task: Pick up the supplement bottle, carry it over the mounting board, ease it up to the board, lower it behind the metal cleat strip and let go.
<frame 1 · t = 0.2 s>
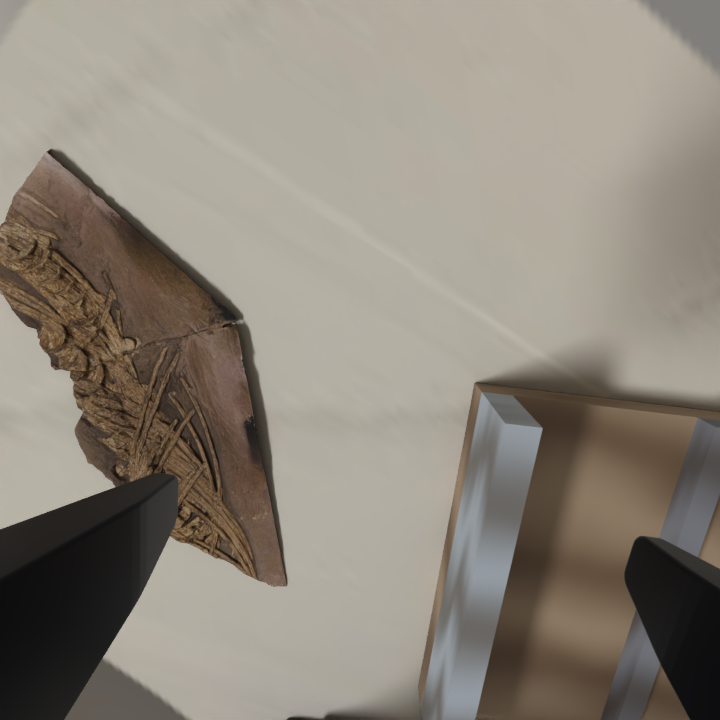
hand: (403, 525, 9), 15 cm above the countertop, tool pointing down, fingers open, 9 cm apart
cleat board: (583, 565, 26), on the countertop
wooden fragment: (170, 397, 24), on the countertop
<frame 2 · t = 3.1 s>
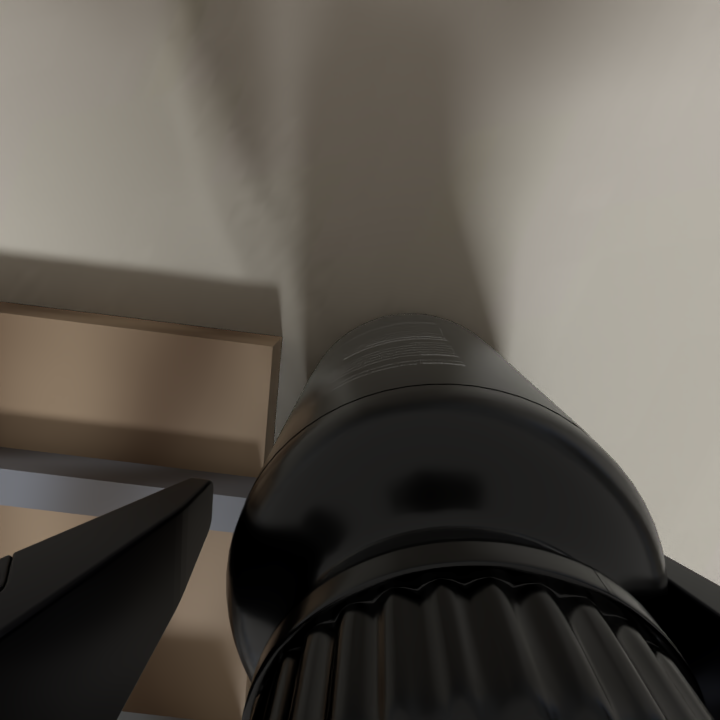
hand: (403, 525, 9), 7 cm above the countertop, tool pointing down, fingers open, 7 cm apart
supplement bottle: (408, 410, 15), on the countertop, touching gripper
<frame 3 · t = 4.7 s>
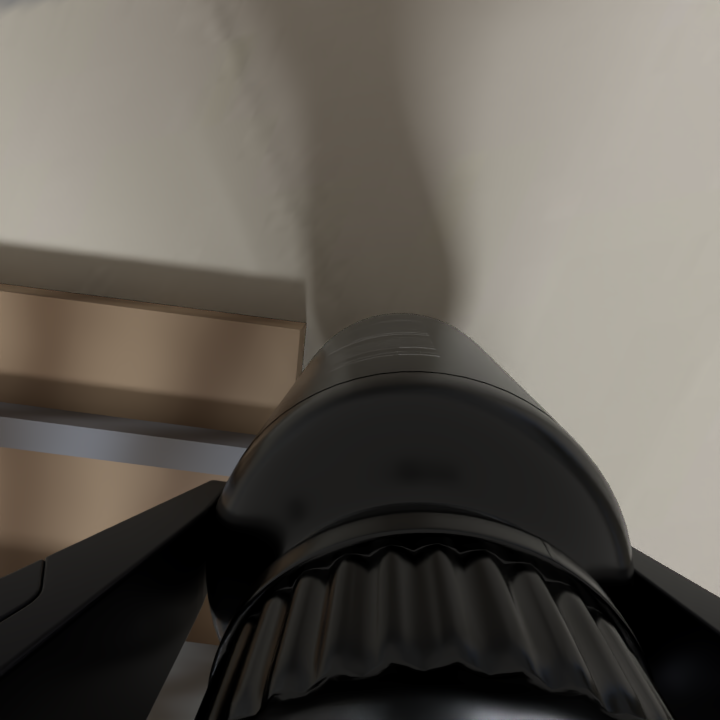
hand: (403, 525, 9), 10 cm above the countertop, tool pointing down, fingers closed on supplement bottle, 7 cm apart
supplement bottle: (400, 409, 15), point 3 cm above the countertop, touching gripper
cleat board: (61, 473, 20), on the countertop
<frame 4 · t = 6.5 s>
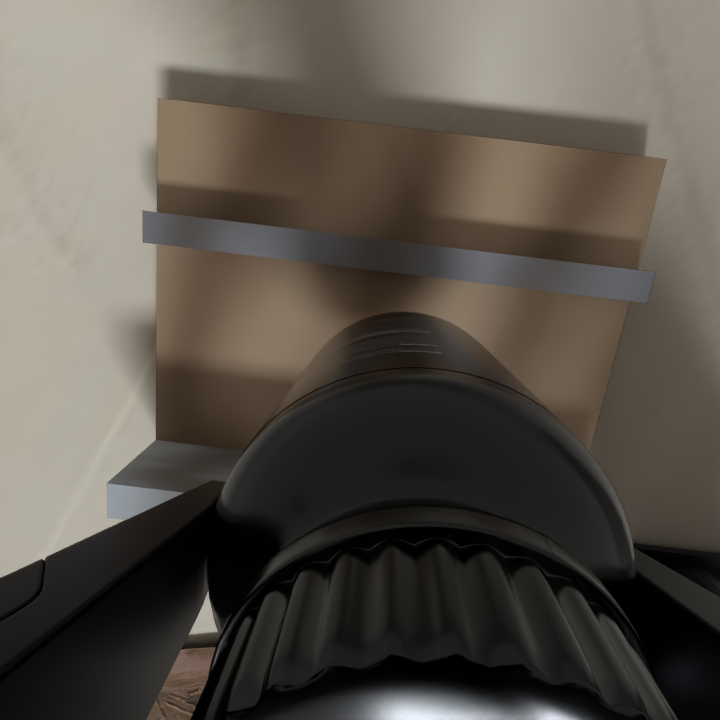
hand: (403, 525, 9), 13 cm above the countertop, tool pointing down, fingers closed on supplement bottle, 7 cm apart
supplement bottle: (402, 407, 15), point 6 cm above the countertop, touching gripper
cleat board: (384, 323, 21), on the countertop
wooden fragment: (219, 696, 27), on the countertop
when the fingers open (9 cm above the countertop, at t = 8.6 s): supplement bottle stays where it is, resting on cleat board.
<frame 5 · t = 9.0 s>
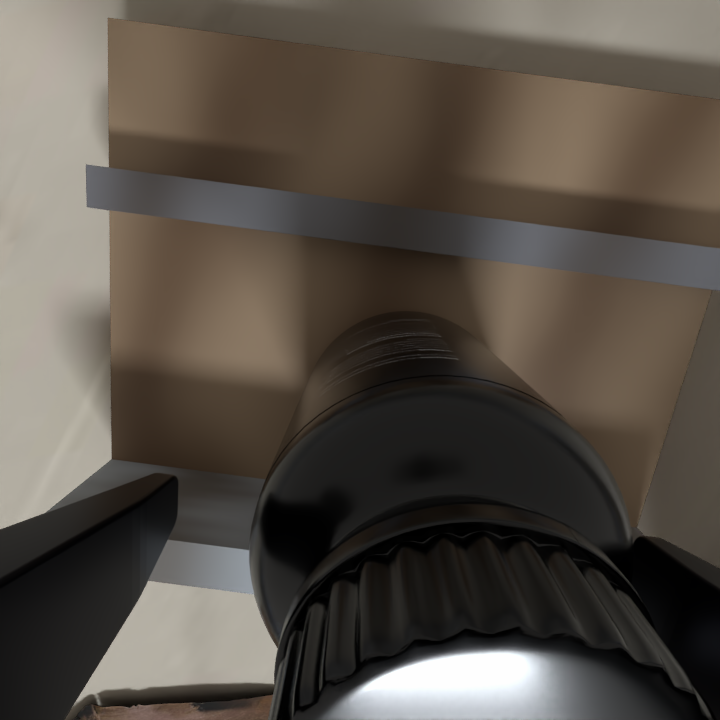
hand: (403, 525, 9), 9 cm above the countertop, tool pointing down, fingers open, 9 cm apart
supplement bottle: (403, 401, 16), point 1 cm above the countertop, touching cleat board
cleat board: (398, 318, 17), on the countertop
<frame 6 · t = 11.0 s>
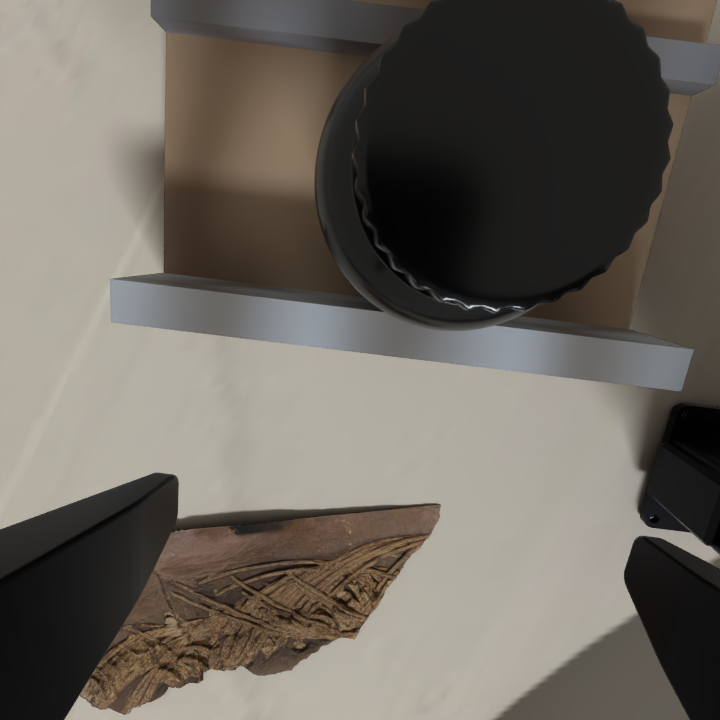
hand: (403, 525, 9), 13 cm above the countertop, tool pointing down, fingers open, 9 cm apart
supplement bottle: (421, 212, 18), point 1 cm above the countertop, touching cleat board
cleat board: (415, 144, 19), on the countertop
wooden fragment: (229, 589, 25), on the countertop
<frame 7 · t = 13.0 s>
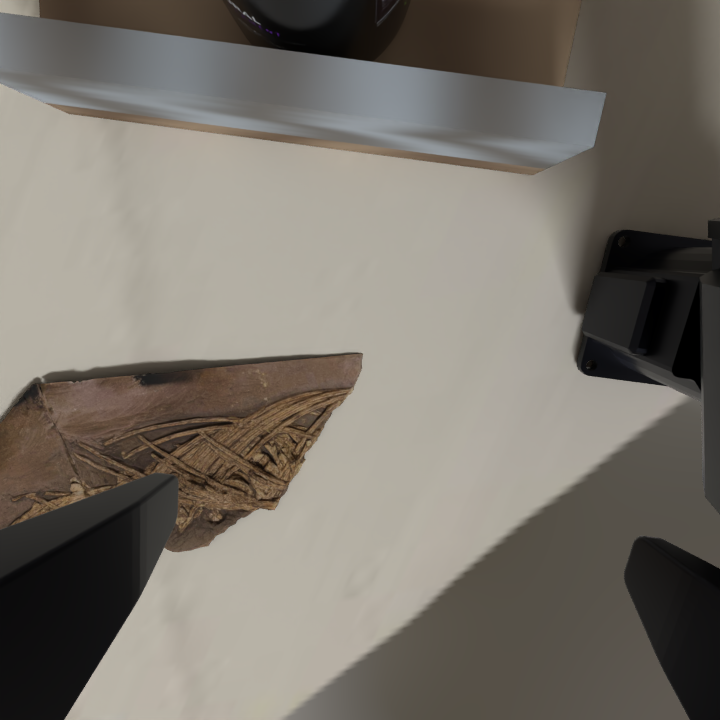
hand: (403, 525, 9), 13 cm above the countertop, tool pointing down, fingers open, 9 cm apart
wooden fragment: (141, 456, 24), on the countertop
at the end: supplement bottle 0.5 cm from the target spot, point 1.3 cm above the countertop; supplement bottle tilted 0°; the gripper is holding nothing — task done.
